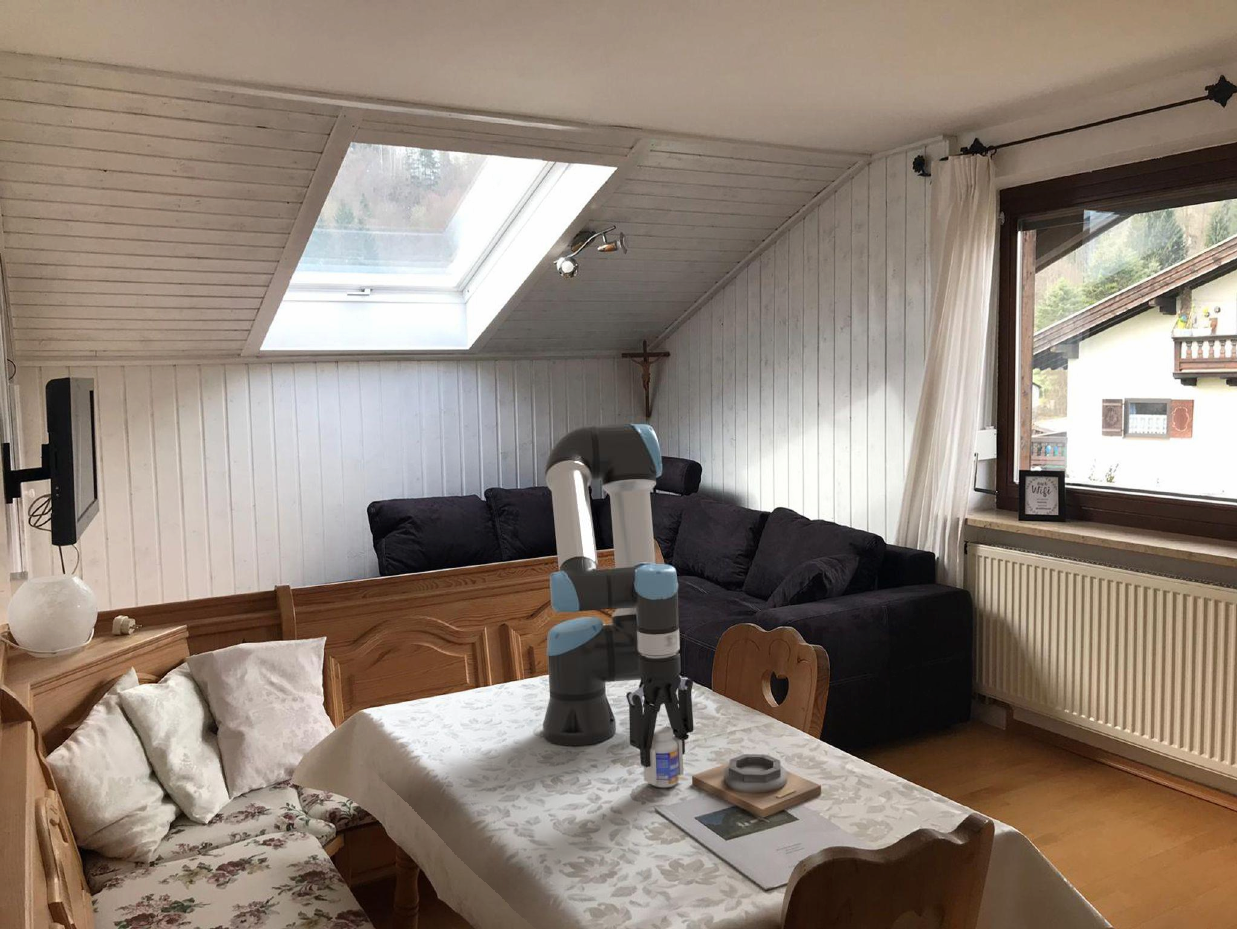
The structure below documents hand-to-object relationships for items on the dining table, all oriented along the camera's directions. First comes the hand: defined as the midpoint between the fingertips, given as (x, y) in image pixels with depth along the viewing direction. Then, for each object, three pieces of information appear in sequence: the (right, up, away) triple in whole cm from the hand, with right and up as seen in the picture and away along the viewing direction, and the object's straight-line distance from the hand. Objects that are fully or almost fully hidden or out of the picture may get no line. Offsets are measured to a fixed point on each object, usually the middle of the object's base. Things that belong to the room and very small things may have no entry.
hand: (663, 777), depth 178 cm
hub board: (+16, -1, -4) cm, 16 cm away
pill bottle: (0, -1, 0) cm, 1 cm away
